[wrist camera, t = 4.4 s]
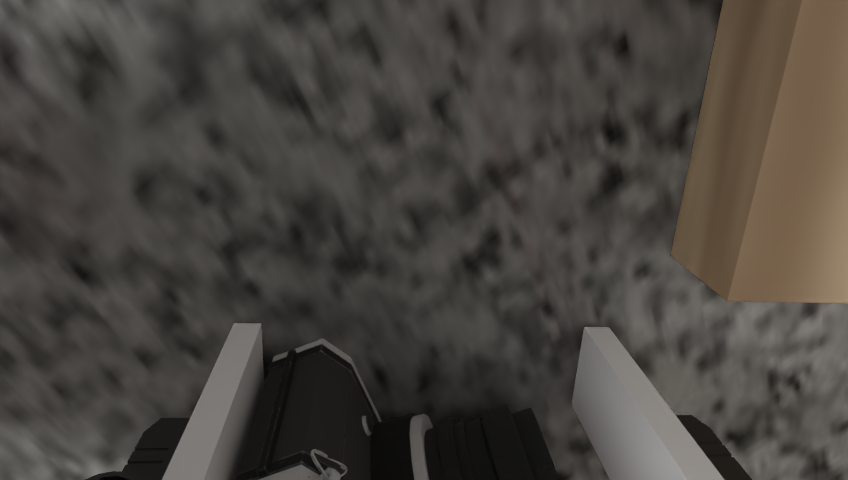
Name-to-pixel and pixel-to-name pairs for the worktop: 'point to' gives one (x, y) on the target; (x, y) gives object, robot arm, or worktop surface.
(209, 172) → the worktop surface
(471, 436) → the camera
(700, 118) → the wooden corner tray
